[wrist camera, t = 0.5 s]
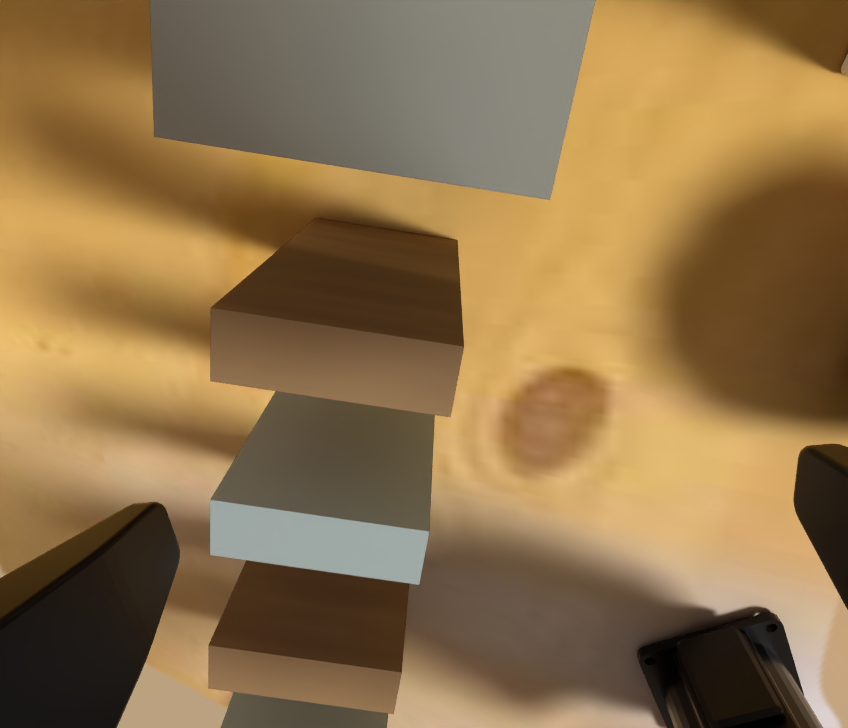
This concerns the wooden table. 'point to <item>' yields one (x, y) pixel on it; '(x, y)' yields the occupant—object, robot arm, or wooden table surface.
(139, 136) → the wooden table surface
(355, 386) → the domino
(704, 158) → the wooden table surface
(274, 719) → the domino
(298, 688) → the domino
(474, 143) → the bookend
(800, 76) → the wooden table surface
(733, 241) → the wooden table surface
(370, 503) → the domino
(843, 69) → the skincare box
